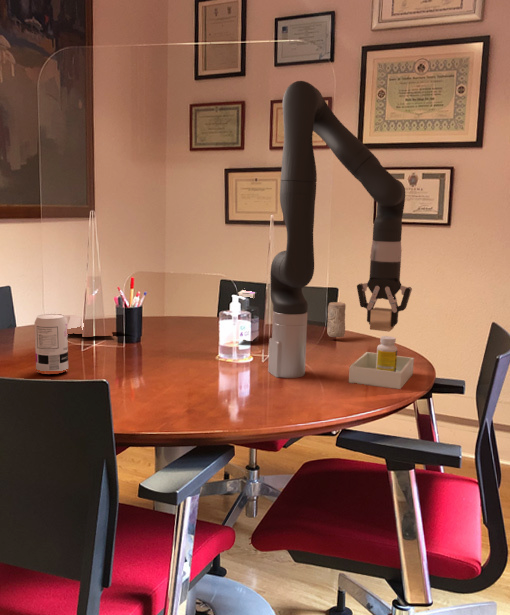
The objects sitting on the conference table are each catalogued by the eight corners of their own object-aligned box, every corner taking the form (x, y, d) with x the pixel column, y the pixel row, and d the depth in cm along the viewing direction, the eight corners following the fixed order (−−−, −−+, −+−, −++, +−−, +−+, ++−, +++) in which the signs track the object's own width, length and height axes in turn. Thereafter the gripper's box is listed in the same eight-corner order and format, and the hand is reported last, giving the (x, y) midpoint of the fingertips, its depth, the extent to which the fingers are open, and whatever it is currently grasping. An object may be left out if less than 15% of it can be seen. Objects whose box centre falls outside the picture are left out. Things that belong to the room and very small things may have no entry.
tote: (399, 392, 155) (401, 373, 154) (348, 384, 160) (349, 366, 159) (412, 375, 170) (414, 357, 169) (365, 369, 175) (366, 351, 174)
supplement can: (30, 371, 165) (28, 315, 162) (58, 365, 171) (57, 312, 168) (45, 377, 159) (44, 320, 157) (74, 371, 165) (73, 316, 163)
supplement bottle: (398, 375, 166) (400, 340, 164) (378, 375, 166) (380, 339, 164) (393, 370, 171) (395, 335, 169) (373, 369, 171) (375, 335, 169)
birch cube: (389, 331, 156) (390, 312, 155) (369, 329, 158) (370, 310, 157) (393, 328, 160) (394, 309, 159) (374, 326, 162) (375, 307, 161)
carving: (342, 334, 219) (344, 301, 217) (346, 339, 212) (348, 305, 210) (325, 334, 219) (326, 301, 217) (328, 339, 212) (329, 304, 210)
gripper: (417, 259, 156) (412, 325, 159) (361, 256, 162) (358, 320, 165) (411, 262, 149) (407, 331, 152) (353, 258, 155) (350, 325, 158)
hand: (381, 324), depth 159 cm, fingers closed on birch cube, 5 cm apart
